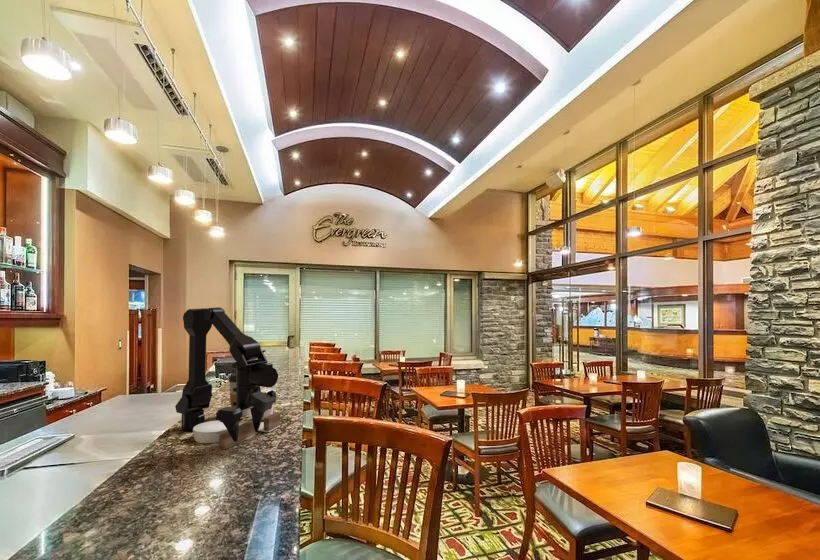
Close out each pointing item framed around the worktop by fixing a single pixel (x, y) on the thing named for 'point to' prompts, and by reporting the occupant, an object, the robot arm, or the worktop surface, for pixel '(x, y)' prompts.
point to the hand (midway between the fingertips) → (246, 435)
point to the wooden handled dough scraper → (243, 434)
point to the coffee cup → (233, 394)
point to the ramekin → (209, 431)
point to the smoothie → (269, 411)
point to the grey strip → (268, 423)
